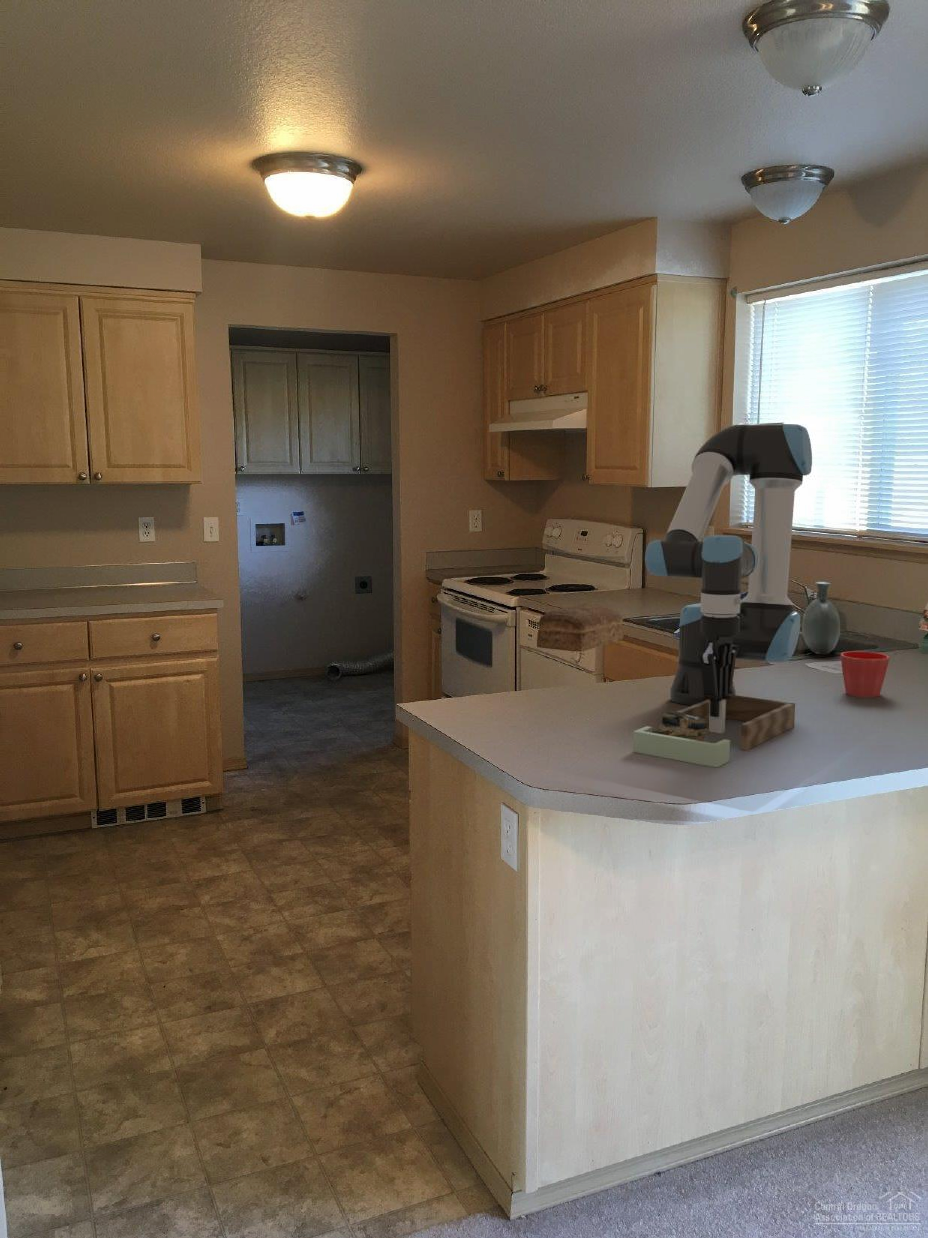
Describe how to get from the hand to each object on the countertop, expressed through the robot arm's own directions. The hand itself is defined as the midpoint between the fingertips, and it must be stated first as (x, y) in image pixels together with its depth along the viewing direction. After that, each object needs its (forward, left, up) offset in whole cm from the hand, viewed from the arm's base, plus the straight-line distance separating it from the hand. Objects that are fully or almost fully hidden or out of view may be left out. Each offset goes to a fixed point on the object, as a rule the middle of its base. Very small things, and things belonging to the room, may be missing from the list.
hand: (716, 731), depth 201 cm
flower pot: (+39, +51, -2) cm, 64 cm away
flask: (+39, +107, -2) cm, 114 cm away
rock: (-10, -9, -2) cm, 14 cm away
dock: (-9, -15, -2) cm, 18 cm away
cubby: (+4, +7, -2) cm, 8 cm away
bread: (-32, +113, -2) cm, 117 cm away
